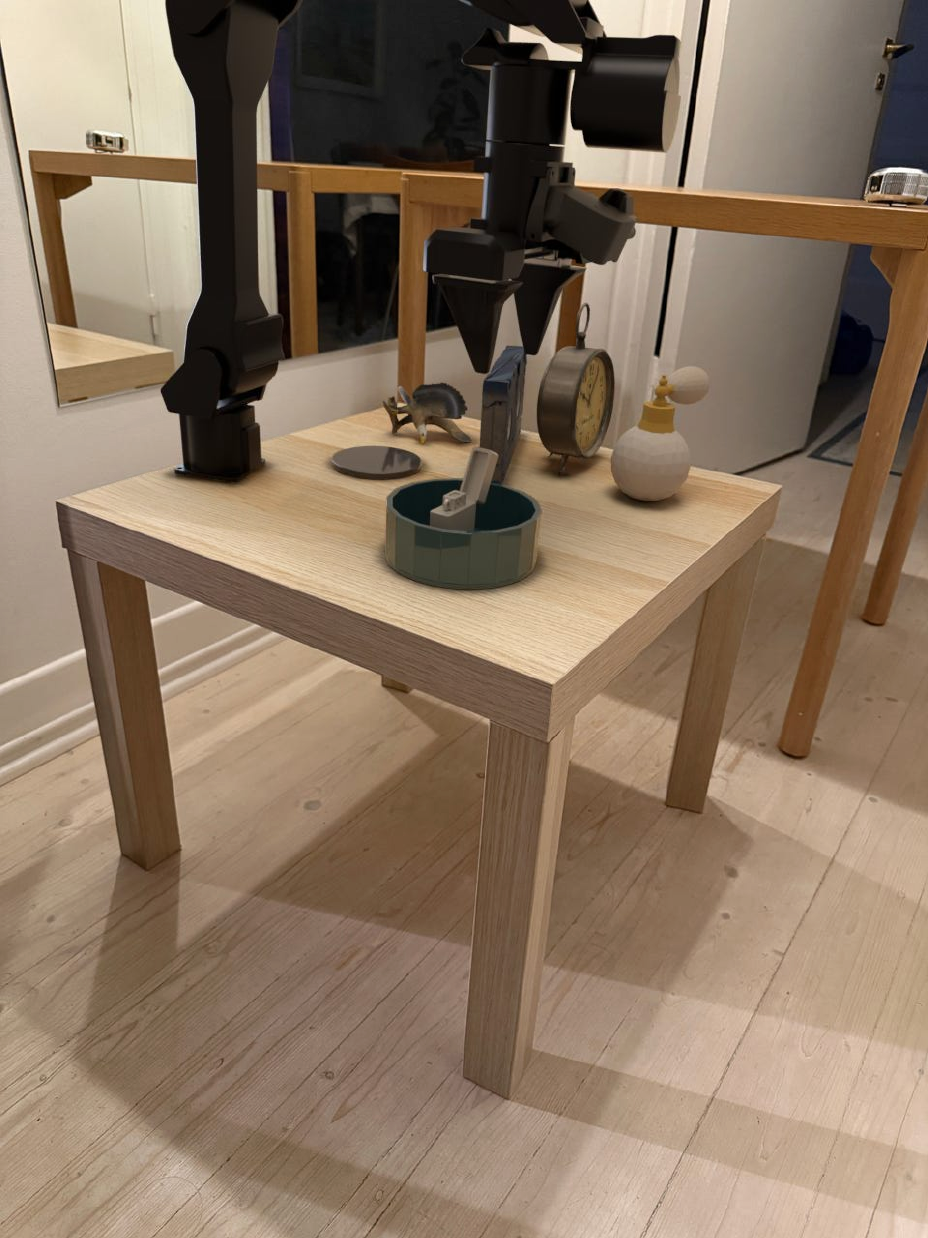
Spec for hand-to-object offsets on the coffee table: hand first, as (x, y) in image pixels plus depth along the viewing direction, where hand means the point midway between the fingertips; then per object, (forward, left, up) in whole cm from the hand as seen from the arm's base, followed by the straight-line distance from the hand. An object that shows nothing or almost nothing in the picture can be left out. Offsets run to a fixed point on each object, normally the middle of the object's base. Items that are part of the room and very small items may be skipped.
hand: (507, 363), depth 73 cm
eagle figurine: (-13, +22, -14) cm, 29 cm away
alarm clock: (+3, +20, -14) cm, 25 cm away
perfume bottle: (+12, +14, -14) cm, 23 cm away
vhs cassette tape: (-4, +19, -14) cm, 24 cm away
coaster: (-15, +11, -14) cm, 23 cm away
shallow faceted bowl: (-1, -8, -14) cm, 16 cm away
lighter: (-1, -8, -14) cm, 16 cm away
